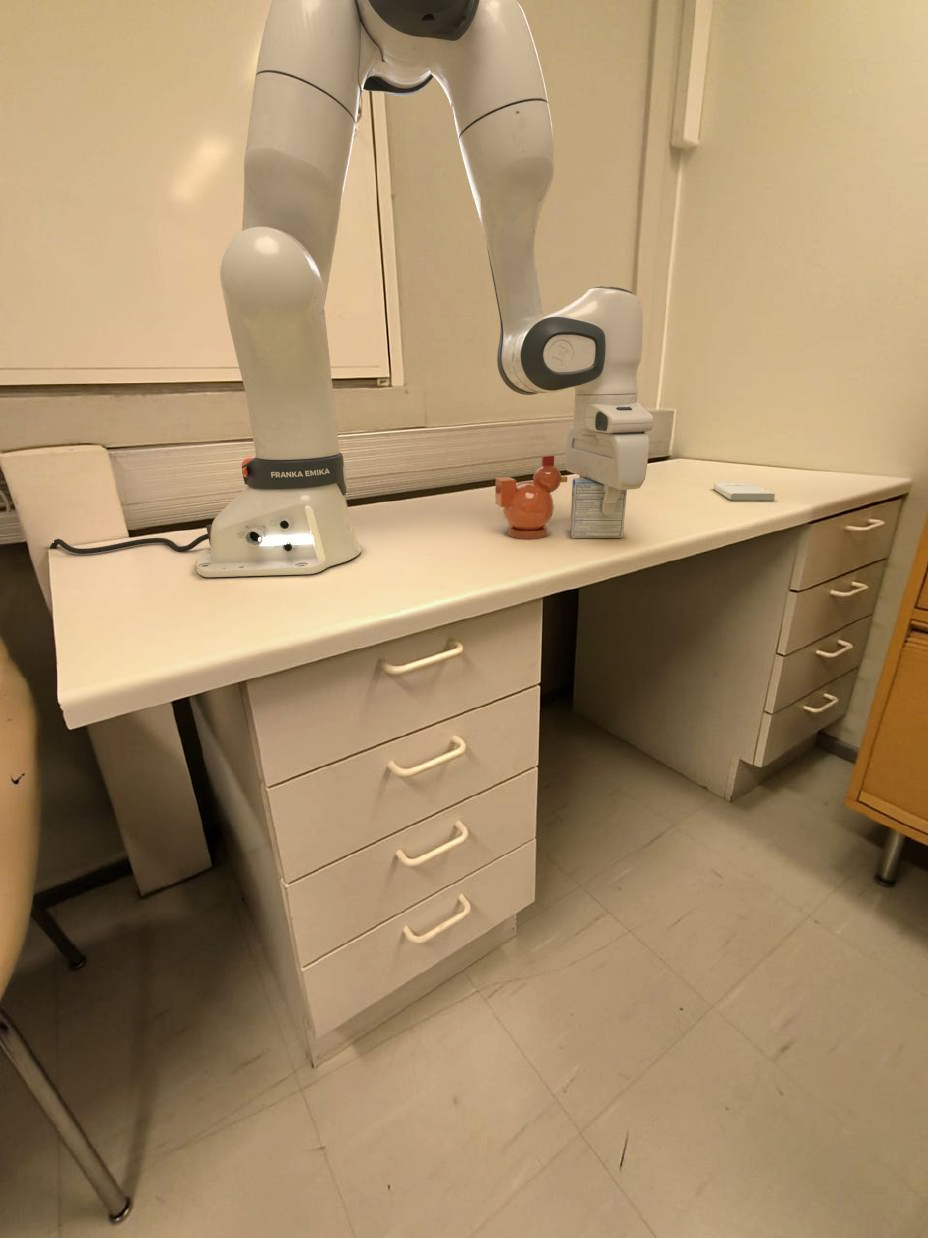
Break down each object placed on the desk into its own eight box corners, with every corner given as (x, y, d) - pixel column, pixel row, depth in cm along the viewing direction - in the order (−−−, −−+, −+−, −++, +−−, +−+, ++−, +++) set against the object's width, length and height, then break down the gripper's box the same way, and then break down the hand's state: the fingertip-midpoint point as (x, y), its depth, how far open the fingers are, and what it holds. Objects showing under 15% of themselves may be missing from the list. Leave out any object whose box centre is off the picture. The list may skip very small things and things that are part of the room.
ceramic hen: (505, 542, 87) (506, 461, 82) (491, 530, 94) (491, 455, 89) (573, 536, 89) (577, 457, 84) (554, 525, 96) (557, 451, 91)
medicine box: (618, 531, 91) (623, 477, 88) (623, 538, 87) (628, 482, 84) (569, 531, 92) (572, 477, 89) (571, 538, 88) (574, 482, 84)
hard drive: (729, 501, 111) (712, 489, 122) (773, 501, 110) (752, 489, 121) (731, 493, 110) (713, 482, 122) (775, 493, 109) (754, 482, 120)
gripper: (557, 412, 91) (553, 498, 97) (616, 420, 73) (608, 525, 78) (593, 411, 92) (588, 495, 98) (661, 418, 74) (649, 522, 79)
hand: (597, 509), depth 88 cm, fingers closed on medicine box, 5 cm apart
